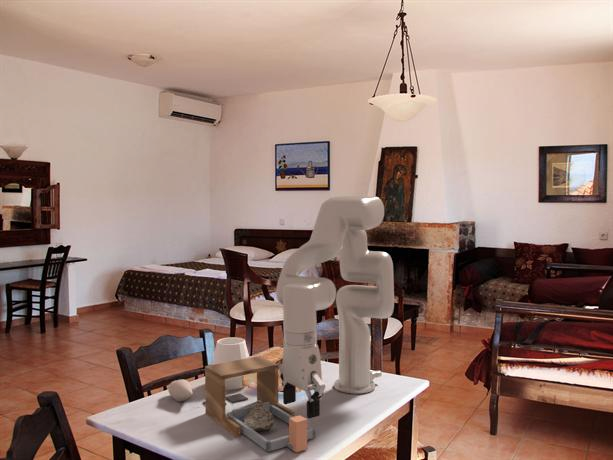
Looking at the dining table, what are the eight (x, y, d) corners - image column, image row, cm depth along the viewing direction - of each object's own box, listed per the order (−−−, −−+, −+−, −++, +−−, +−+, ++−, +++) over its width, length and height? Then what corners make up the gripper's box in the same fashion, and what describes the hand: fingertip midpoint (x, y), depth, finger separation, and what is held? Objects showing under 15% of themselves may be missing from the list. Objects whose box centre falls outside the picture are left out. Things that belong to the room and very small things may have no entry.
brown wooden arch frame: (247, 392, 165) (247, 350, 164) (294, 420, 144) (294, 372, 143) (194, 405, 155) (193, 359, 154) (236, 436, 134) (236, 384, 134)
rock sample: (225, 413, 140) (252, 389, 141) (240, 423, 145) (265, 400, 146) (244, 443, 132) (271, 417, 133) (259, 453, 138) (285, 428, 139)
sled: (272, 411, 150) (271, 386, 149) (324, 443, 130) (324, 414, 130) (228, 422, 142) (228, 396, 142) (277, 458, 122) (277, 427, 122)
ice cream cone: (192, 410, 151) (173, 402, 163) (207, 392, 154) (187, 386, 166) (177, 395, 149) (159, 389, 162) (192, 377, 152) (173, 372, 165)
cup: (225, 395, 163) (225, 348, 162) (201, 384, 173) (200, 340, 172) (261, 385, 172) (261, 341, 171) (236, 375, 182) (236, 333, 181)
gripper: (336, 343, 121) (337, 418, 122) (293, 326, 135) (294, 394, 136) (308, 349, 116) (309, 427, 118) (266, 331, 131) (267, 401, 132)
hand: (301, 409), depth 127 cm, fingers open, 9 cm apart
